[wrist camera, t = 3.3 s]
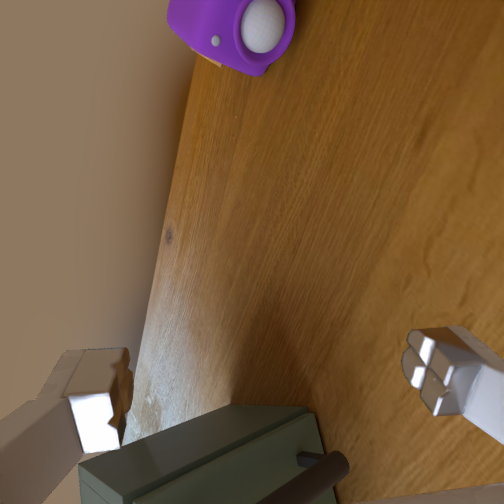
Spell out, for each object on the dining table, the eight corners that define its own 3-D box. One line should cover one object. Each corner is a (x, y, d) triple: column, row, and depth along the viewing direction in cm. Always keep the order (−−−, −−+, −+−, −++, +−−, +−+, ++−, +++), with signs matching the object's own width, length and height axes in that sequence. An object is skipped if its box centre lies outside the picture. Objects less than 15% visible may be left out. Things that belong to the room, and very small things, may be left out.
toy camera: (292, 94, 33) (209, 59, 27) (226, 71, 42) (151, 40, 35) (339, -34, 28) (252, -114, 22) (254, -30, 37) (174, -86, 31)
